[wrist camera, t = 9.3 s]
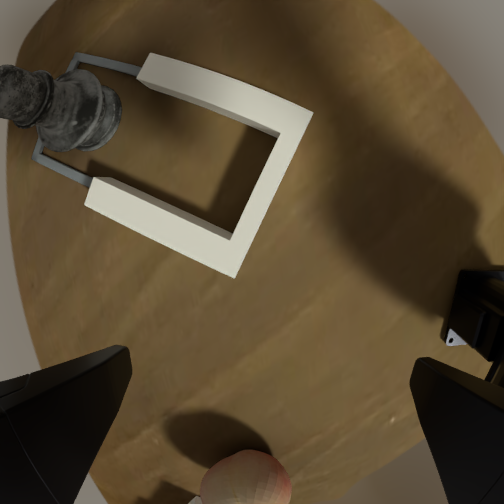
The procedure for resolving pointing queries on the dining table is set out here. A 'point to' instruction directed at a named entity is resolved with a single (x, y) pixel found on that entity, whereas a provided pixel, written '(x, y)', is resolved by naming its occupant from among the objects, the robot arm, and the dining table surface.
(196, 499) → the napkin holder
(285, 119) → the u-shaped bracket
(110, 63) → the frame
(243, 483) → the fruit
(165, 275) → the dining table surface
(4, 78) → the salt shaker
